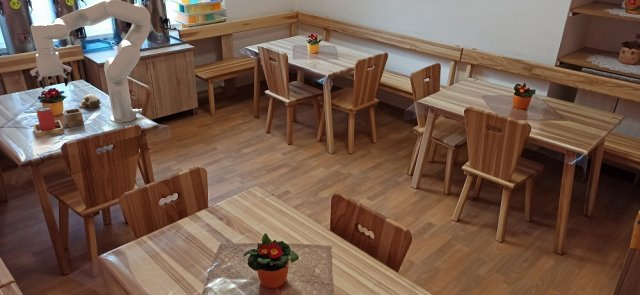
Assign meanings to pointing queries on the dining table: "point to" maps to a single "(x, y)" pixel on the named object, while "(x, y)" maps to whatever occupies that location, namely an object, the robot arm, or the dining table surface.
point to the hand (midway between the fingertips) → (55, 86)
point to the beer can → (46, 118)
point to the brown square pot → (74, 117)
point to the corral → (48, 132)
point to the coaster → (76, 130)
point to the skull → (90, 102)
